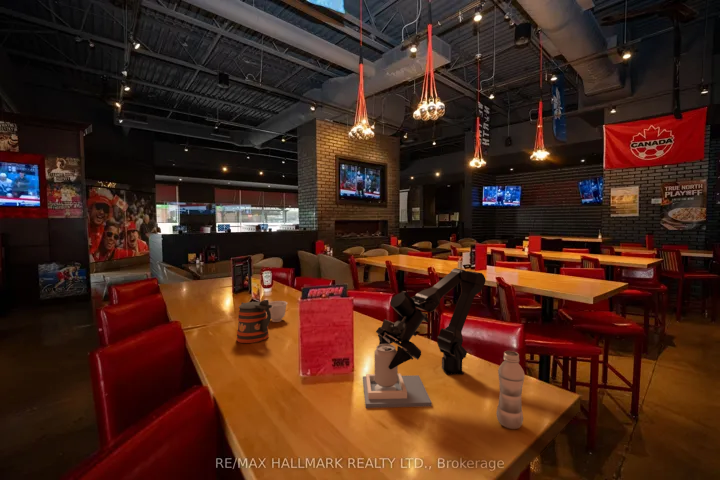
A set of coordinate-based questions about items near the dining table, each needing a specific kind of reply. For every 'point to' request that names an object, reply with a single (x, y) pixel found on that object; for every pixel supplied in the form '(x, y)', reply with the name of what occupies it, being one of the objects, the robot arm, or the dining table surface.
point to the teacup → (277, 310)
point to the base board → (395, 393)
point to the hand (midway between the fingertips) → (382, 363)
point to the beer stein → (253, 321)
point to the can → (385, 365)
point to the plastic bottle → (510, 391)
